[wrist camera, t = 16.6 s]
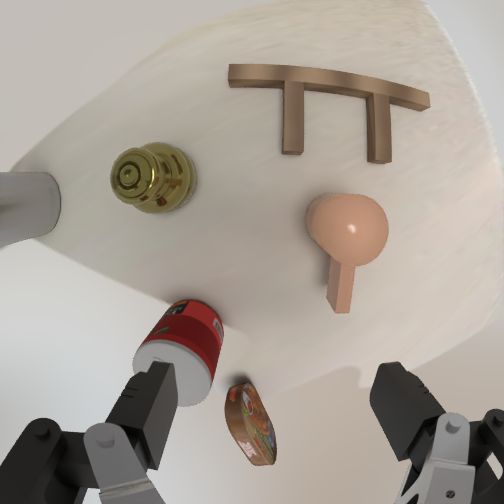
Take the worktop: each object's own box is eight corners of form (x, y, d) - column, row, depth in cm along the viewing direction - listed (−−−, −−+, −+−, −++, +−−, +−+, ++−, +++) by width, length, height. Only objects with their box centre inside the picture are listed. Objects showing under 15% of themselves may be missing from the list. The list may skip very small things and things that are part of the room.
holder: (227, 152, 29) (224, 149, 27) (231, 72, 27) (229, 64, 25) (422, 170, 29) (433, 169, 26) (419, 97, 27) (428, 92, 24)
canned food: (181, 286, 33) (148, 327, 22) (236, 320, 34) (226, 374, 23) (155, 330, 34) (121, 378, 24) (207, 361, 35) (189, 417, 24)
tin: (277, 434, 38) (279, 473, 30) (259, 438, 38) (258, 477, 30) (247, 370, 35) (243, 412, 27) (225, 375, 36) (217, 417, 27)
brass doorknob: (152, 221, 31) (111, 234, 22) (130, 165, 30) (83, 159, 20) (208, 194, 30) (184, 196, 21) (183, 136, 29) (151, 115, 19)
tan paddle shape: (306, 191, 30) (324, 191, 21) (356, 195, 30) (390, 197, 21) (301, 287, 32) (314, 320, 24) (349, 287, 32) (376, 318, 23)
